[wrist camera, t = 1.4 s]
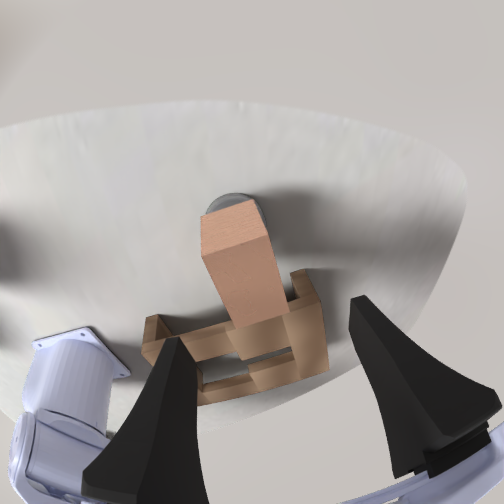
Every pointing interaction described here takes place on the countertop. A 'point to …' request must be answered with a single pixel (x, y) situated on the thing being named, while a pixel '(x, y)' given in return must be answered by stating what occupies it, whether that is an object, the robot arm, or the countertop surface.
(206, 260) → the peg
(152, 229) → the countertop surface
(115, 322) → the countertop surface
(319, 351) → the keyhole plate
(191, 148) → the countertop surface
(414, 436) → the robot arm
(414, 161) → the countertop surface
